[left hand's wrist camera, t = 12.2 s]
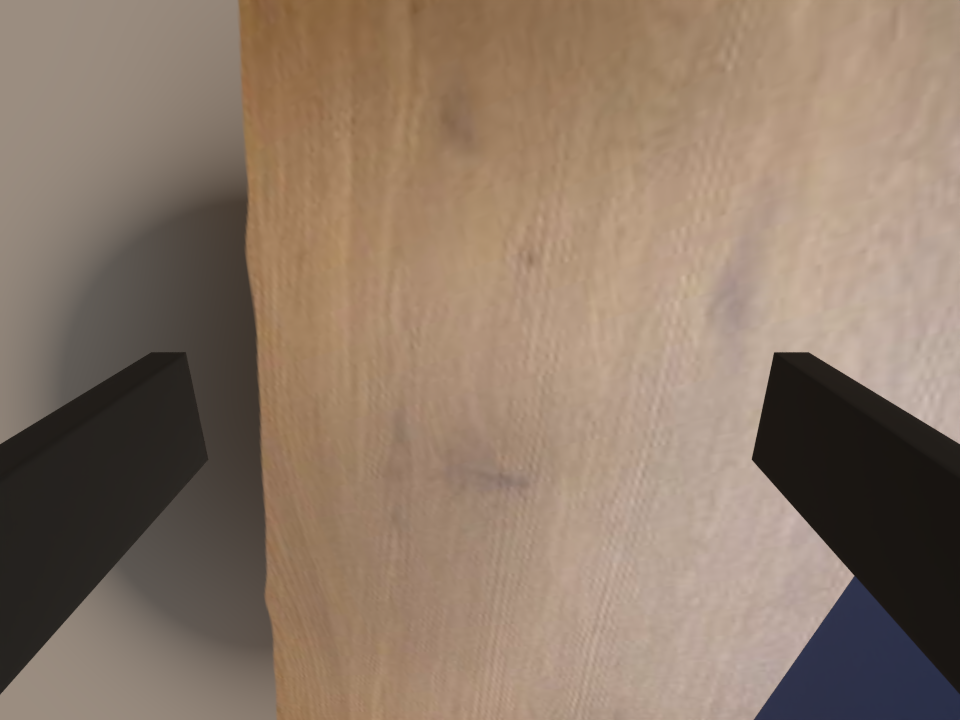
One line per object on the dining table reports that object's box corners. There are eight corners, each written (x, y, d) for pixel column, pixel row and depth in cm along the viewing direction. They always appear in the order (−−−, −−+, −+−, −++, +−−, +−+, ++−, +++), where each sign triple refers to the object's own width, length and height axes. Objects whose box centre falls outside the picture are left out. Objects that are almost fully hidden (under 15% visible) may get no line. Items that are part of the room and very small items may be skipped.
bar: (948, 440, 30) (1123, 548, 22) (1035, 466, 31) (1236, 580, 23) (749, 725, 39) (821, 880, 31) (820, 741, 39) (910, 897, 31)
